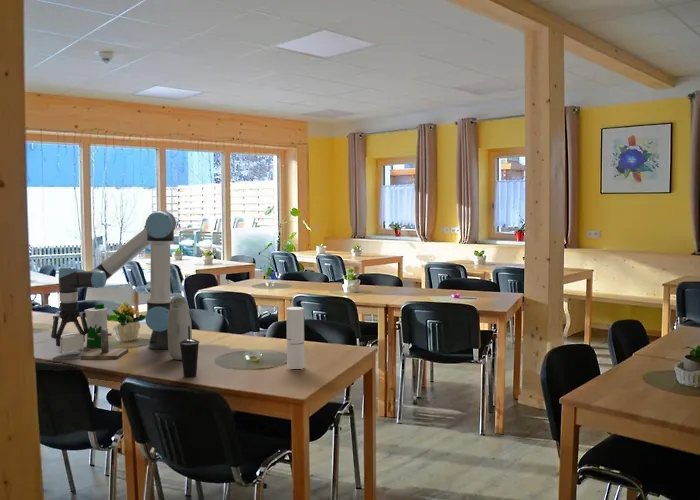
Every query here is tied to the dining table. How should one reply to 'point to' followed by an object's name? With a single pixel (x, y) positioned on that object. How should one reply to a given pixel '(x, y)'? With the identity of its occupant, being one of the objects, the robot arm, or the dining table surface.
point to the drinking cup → (189, 356)
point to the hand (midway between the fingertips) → (70, 351)
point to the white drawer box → (72, 341)
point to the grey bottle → (178, 325)
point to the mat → (70, 355)
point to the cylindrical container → (295, 337)
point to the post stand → (105, 349)
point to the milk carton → (96, 324)
